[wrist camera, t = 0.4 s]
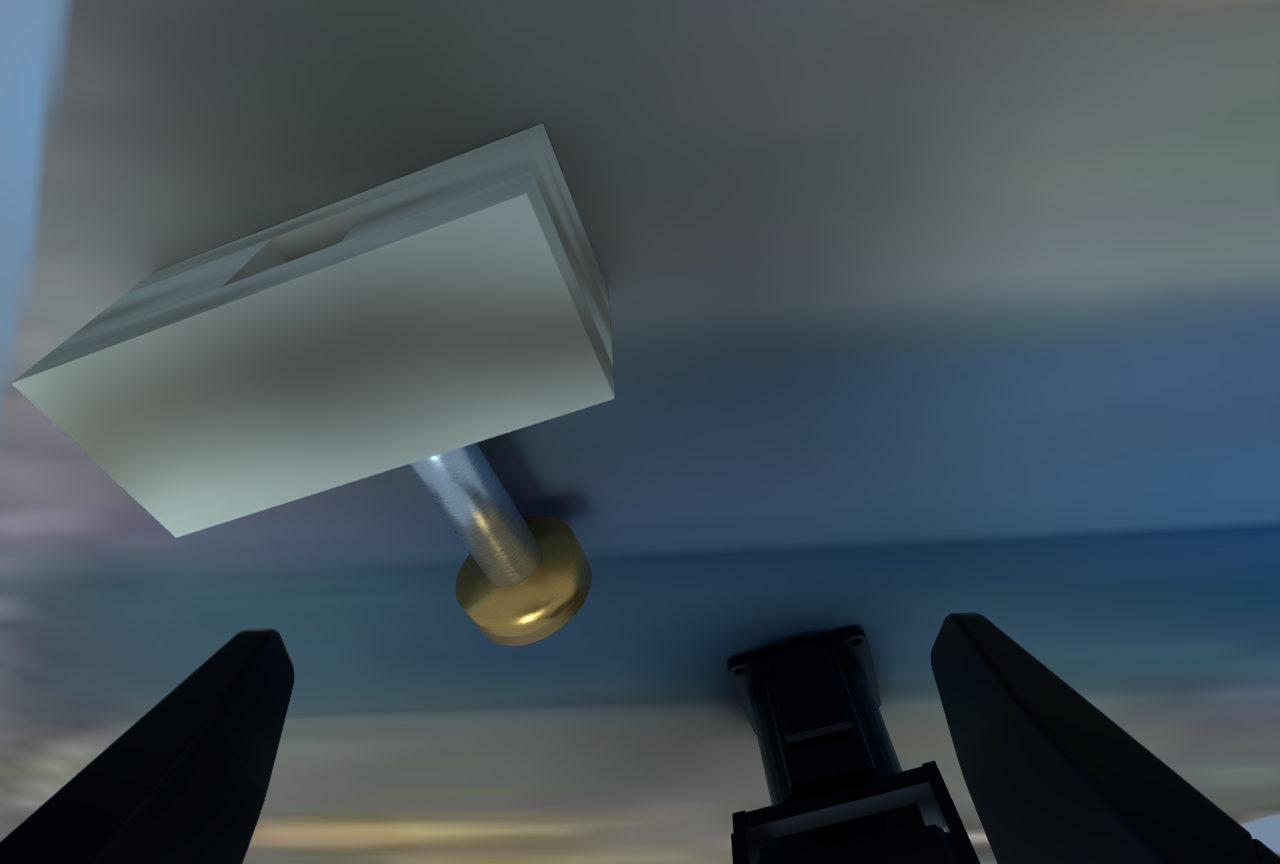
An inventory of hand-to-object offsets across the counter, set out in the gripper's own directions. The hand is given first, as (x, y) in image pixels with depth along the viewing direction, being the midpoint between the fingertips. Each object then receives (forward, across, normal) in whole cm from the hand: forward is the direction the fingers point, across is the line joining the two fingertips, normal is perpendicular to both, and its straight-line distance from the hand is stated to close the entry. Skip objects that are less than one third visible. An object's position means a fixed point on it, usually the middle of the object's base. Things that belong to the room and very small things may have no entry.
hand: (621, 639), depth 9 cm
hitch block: (+13, +6, 0) cm, 15 cm away
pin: (+13, +5, +5) cm, 15 cm away
